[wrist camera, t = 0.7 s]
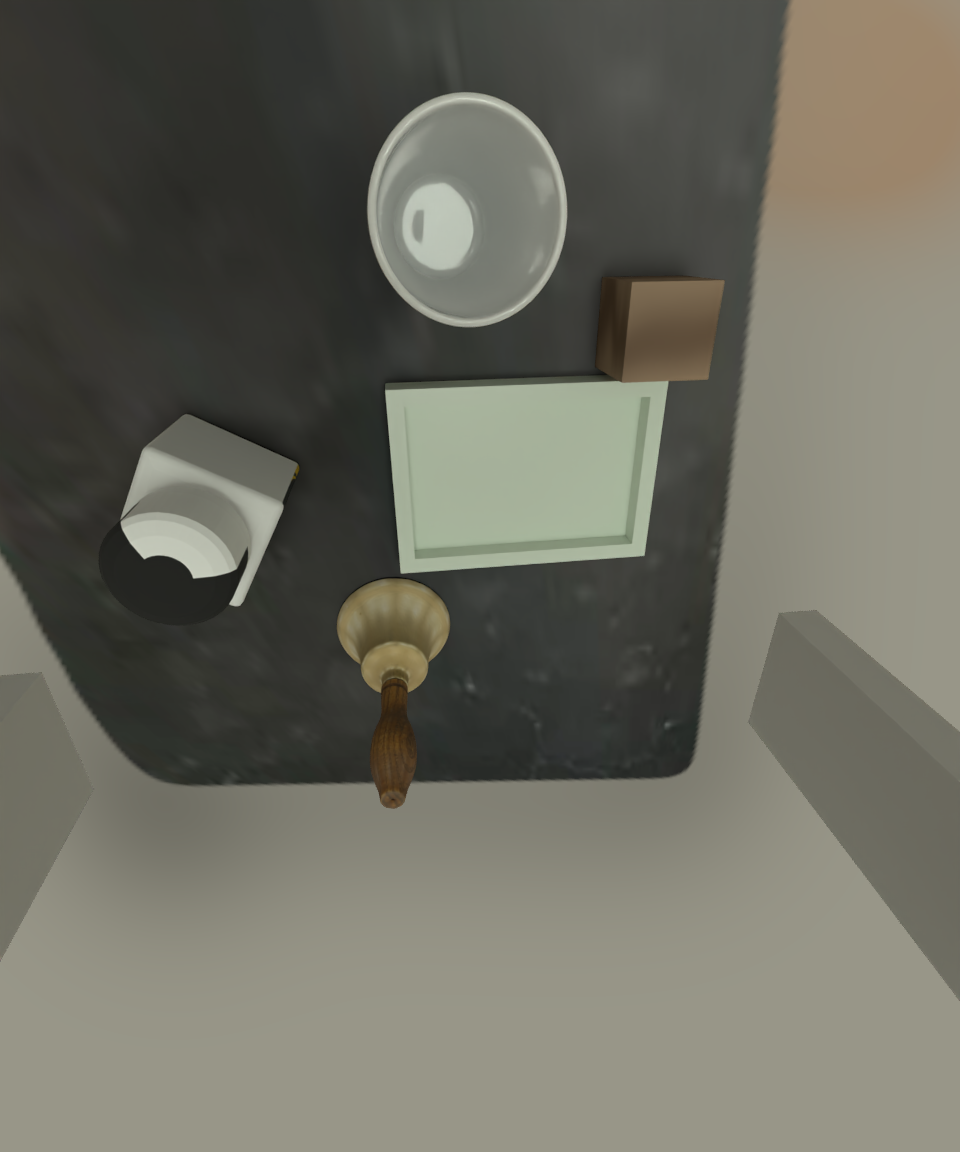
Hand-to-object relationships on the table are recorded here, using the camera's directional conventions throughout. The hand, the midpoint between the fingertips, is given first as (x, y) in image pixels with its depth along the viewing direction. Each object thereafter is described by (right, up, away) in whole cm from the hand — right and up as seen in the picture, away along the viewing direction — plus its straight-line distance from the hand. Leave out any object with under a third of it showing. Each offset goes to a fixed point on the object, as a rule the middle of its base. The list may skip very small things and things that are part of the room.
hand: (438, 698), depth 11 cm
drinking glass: (-2, +21, +21) cm, 30 cm away
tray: (+4, +9, +29) cm, 30 cm away
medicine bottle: (-15, +8, +27) cm, 32 cm away
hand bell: (-6, -1, +33) cm, 34 cm away
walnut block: (+10, +18, +25) cm, 32 cm away
